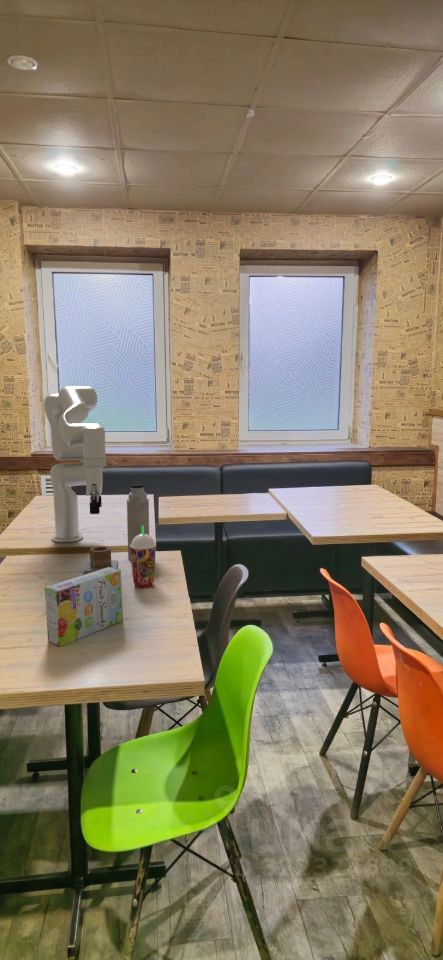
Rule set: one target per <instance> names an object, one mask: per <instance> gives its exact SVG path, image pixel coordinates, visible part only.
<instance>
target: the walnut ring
mask: <svg viewBox="0 0 443 960" xmlns="http://www.w3.org/2000/svg"><path fill="white" fill-rule="evenodd" d="M89 558H90V559H89V561H90V566H91V567H93V568H96V569H97V568H107V567H110V566H111V560H112V547H111V546H108V545H98V546H97V545H96V546H93V547H90V549H89Z"/></svg>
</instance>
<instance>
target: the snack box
mask: <svg viewBox="0 0 443 960" xmlns="http://www.w3.org/2000/svg"><path fill="white" fill-rule="evenodd" d="M121 573H122V572H121V570H120V569H118V568H117V569H114V568H111V567H107V568H104V569H101V570H98V571H95V572H92V573H88V574H85V575H84V574H82V575H79V576H77V577H73V578H71V579H67V580H63V581H60V582H57V583H54V584H52V585H48V586H47V585H46V586H45V587H44V598H45V615H46V625H47V626H46V627H47V641H48V643H51V644H53V645H55V646H57V647H59V648H60V647H64V646H65V645H68V644H70V643H72V642H75V641H77V640H79V639H82V638H85V637H87V636H90V635H92V634H94V633H97V632H99V631H102V630H104V629H106V628H109V627H112V626H114V625H116V624H119V623H122V622H123V620H124V619H123V617H124V616H123V596H122V595H123V594H122V574H121Z"/></svg>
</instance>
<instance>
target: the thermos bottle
mask: <svg viewBox="0 0 443 960" xmlns="http://www.w3.org/2000/svg"><path fill="white" fill-rule="evenodd" d="M147 497H148V494H147V493H146V492H145V484H143V483H132V484H131V485H130V492H129V493H128V497H127V498H128V499H126V512H127V514H126V518H127V519H126V522H127V523H126V524H127V558H128V560H130V561H131V550H130V544H131V543H132V540H133V539H134V538H135V537H136V536H137V535H139V534H142V526H144V534H147V535H149V536H150V509H149V508H150V503H149V500H150V499H149V498H147Z"/></svg>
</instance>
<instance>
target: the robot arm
mask: <svg viewBox="0 0 443 960" xmlns="http://www.w3.org/2000/svg"><path fill="white" fill-rule="evenodd" d="M97 395H98V394H97V391H96V390H95V388H93V387H92V386H89V385H88V386H86V385H85V386H83V385H81V386H79V385H76V386H74V385H73V386H65V387H63V388H61V389H60V390H59V391H58V393H52V394H48V395H46V396H45V397H44V401H43V407H44V412H45V416H46V418H47V421H48V423H49V426H50V438H51V449H52V451H51V452H52V456H53V457H54V459H55V460H58V461H70V460H71V461H72V460H80V462H67V463H58V464H55V465H53V466H52V467H51V468H50V472H49V473H50V474H49V475H50V480H51V486H52V491H53V505H54V506H53V507H54V508H53V510H54V528H55V529H54V531H55V534H53V535H52V536H51V540H52V541H53V542H56V543H74V542H78V541H81V540H82V539H84V534H82V533H80V528H79V502H78V501H79V499H78V495H77V493H76V492H75V491H74V490H73V489H72V487H76V486H86V487H85V489H86V490H85V491H86V492H85V495H86V496H87V497H89V514H90V515H99V514H100V511H101V510H100V509H101V507H102V505H103V504H102V492H103V483H104V482H103V481H104V480H103V479H104V478H103V468H105V467H106V465H107V464H106V463H107V460H106V459H107V458H106V430H105V428H104V427H103V426H101V425H100V424H99V423H96V422H94V423H93V422H92V423H83V422H84V421H86V419H88V417H89V413H91V412H92V411H93V410H94V409H95V408H96V406H97V404H98V396H97Z"/></svg>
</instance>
